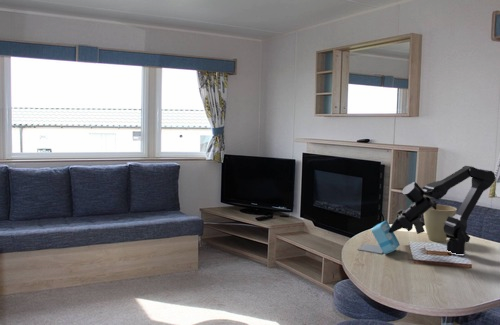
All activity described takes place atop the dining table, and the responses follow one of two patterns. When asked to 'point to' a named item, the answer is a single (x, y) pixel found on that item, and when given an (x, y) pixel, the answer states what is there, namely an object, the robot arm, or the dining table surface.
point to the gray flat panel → (371, 248)
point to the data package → (385, 237)
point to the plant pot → (437, 221)
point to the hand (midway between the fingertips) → (389, 232)
